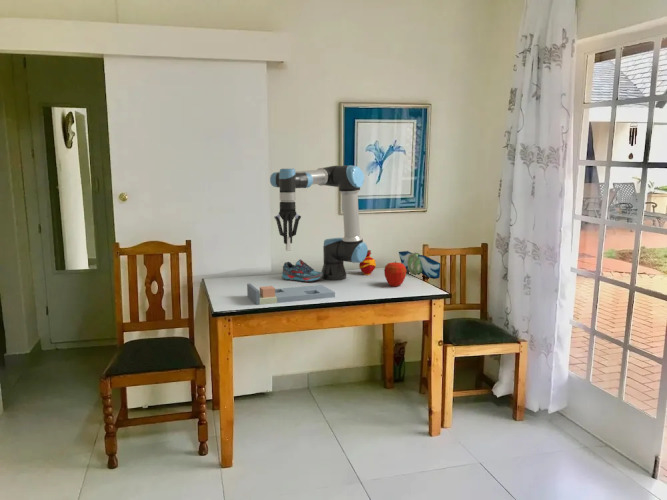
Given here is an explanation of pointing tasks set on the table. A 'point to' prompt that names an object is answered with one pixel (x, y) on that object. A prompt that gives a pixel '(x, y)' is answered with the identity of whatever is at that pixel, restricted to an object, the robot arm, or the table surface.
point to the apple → (395, 273)
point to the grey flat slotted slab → (290, 294)
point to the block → (267, 291)
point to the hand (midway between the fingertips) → (288, 250)
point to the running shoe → (300, 272)
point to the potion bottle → (367, 264)
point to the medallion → (420, 264)
